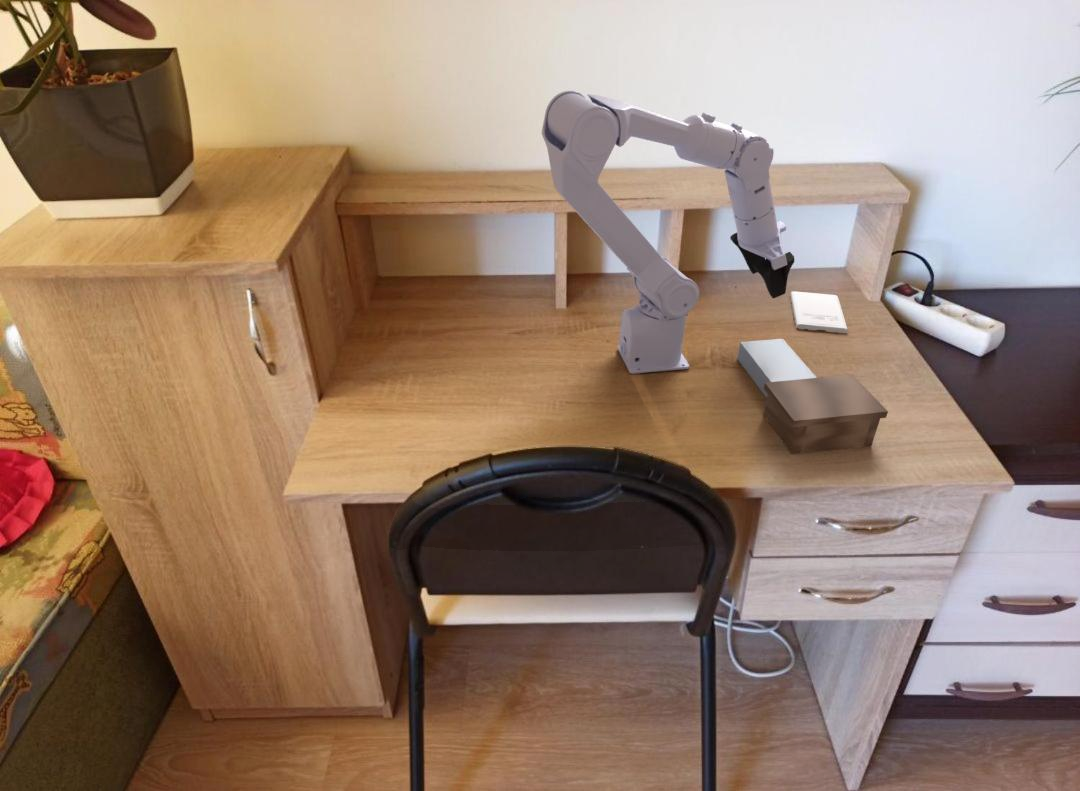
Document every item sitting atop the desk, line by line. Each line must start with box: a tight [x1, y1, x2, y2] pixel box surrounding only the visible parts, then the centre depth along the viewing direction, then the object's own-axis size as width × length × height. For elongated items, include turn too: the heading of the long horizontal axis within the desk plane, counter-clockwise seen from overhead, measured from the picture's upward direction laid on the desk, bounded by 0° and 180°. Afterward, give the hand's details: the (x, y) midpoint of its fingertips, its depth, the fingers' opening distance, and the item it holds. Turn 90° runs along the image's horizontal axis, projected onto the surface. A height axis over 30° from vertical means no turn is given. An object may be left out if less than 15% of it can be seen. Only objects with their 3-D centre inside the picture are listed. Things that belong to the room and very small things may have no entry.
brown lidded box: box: [763, 374, 889, 455], centre depth 102 cm, size 13×9×6 cm
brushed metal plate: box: [736, 338, 818, 399], centre depth 113 cm, size 7×14×3 cm, turn 10°
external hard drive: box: [789, 290, 848, 334], centre depth 132 cm, size 2×8×12 cm
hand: (768, 282), depth 119 cm, fingers open, 7 cm apart
